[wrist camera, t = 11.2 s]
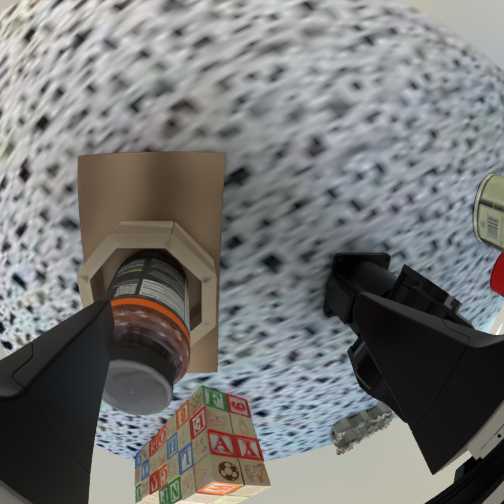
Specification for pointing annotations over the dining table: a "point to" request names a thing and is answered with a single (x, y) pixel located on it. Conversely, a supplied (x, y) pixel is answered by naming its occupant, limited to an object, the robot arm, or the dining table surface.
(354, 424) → the egg carton
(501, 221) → the coffee can
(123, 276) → the supplement bottle
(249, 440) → the stack of blocks
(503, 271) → the soda can
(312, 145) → the dining table surface
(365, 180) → the dining table surface
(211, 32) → the dining table surface
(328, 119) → the dining table surface
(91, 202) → the collar board
